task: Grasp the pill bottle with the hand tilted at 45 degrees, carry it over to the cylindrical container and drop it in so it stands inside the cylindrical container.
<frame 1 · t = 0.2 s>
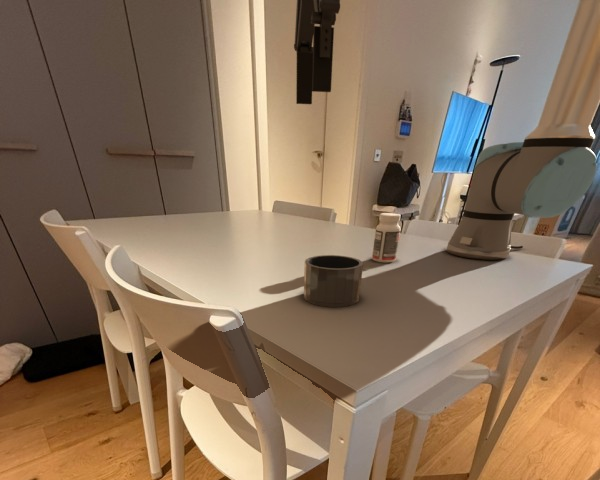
hand: (311, 98, 55), 28 cm above the table, tool pointing down, fingers open, 13 cm apart
cylindrical container: (331, 297, 59), on the table
pill bottle: (383, 261, 82), on the table
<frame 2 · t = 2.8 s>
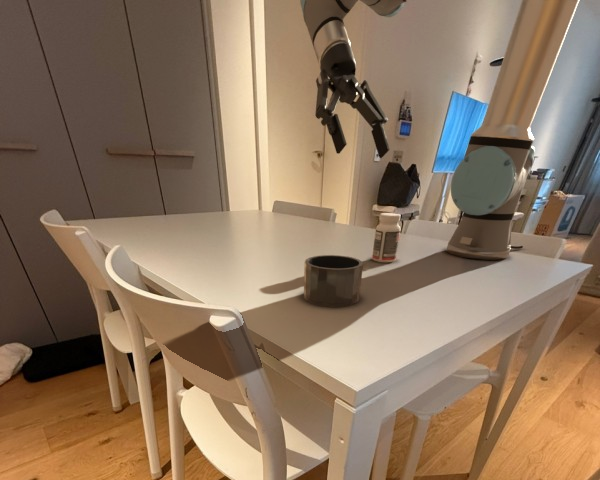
hand: (364, 151, 76), 21 cm above the table, tool tilted 35°, fingers open, 13 cm apart
nothing on the table moved.
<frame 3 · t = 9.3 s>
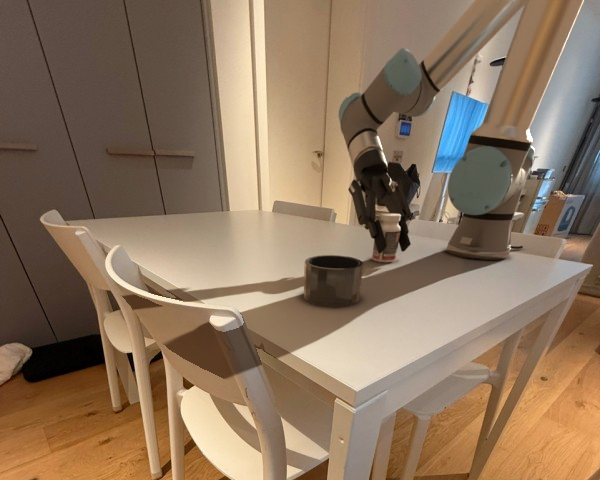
hand: (394, 248, 77), 3 cm above the table, tool tilted 45°, fingers closed on pill bottle, 6 cm apart
pill bottle: (383, 261, 82), on the table, touching gripper
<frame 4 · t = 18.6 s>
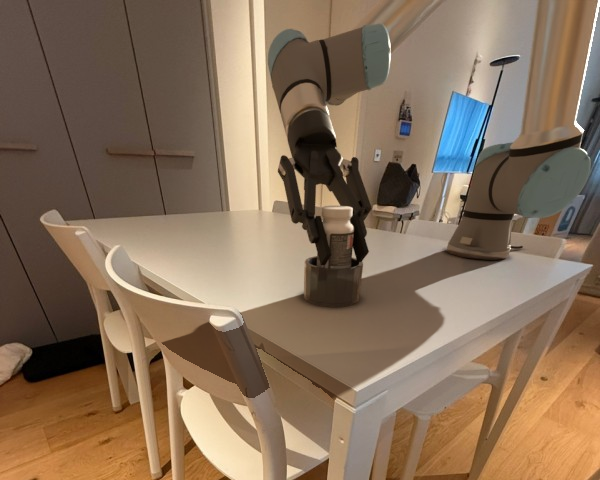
hand: (344, 258, 52), 7 cm above the table, tool tilted 45°, fingers closed on pill bottle, 6 cm apart
pill bottle: (333, 275, 57), point 4 cm above the table, touching gripper
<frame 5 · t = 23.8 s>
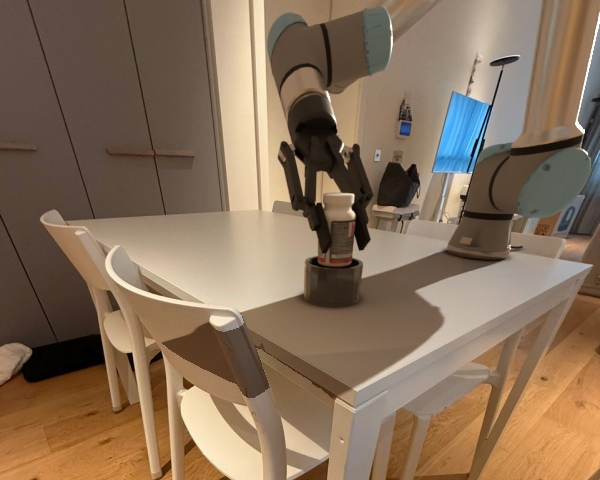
hand: (346, 246, 51), 9 cm above the table, tool tilted 45°, fingers closed on pill bottle, 6 cm apart
pill bottle: (334, 264, 56), point 5 cm above the table, touching gripper
when the fingers open (10 cm above the table, at t = 28.7 s): pill bottle drops 6 cm, resting on cylindrical container.
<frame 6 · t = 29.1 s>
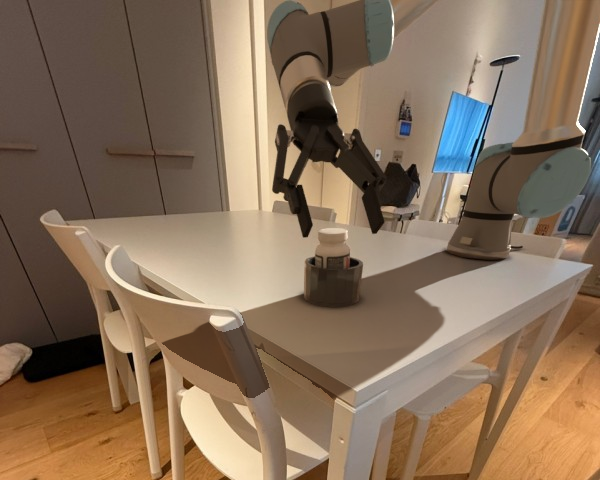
hand: (344, 229, 50), 11 cm above the table, tool tilted 45°, fingers open, 11 cm apart
pill bottle: (331, 294, 59), point 1 cm above the table, touching cylindrical container
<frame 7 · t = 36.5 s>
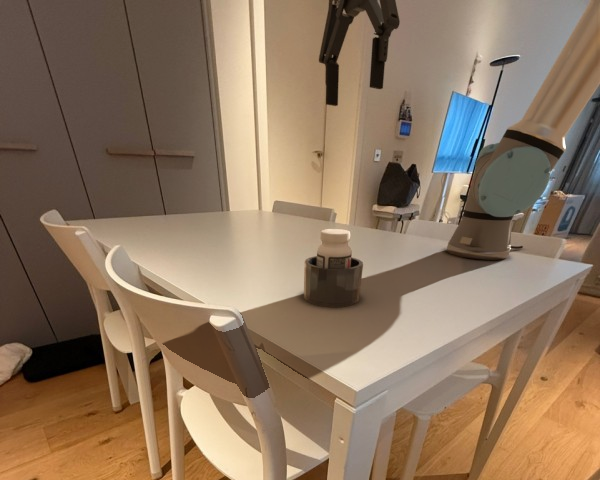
hand: (352, 97, 68), 30 cm above the table, tool pointing down, fingers open, 13 cm apart
nothing on the table moved.
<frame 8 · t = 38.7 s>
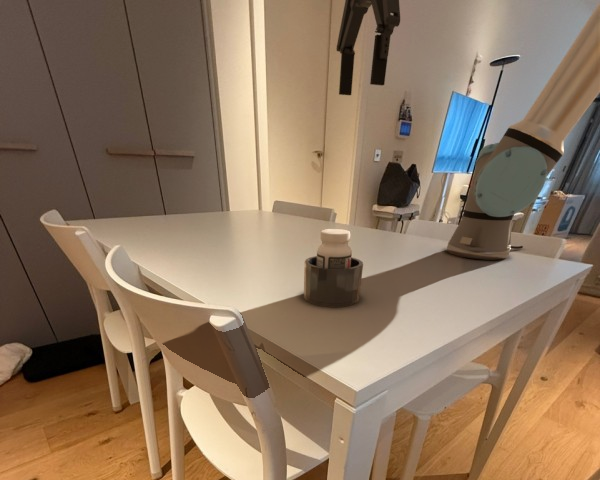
hand: (359, 90, 70), 32 cm above the table, tool pointing down, fingers open, 13 cm apart
nothing on the table moved.
at the end: pill bottle 0.1 cm off-centre in the cylindrical container, point 0.4 cm above the cylindrical container's base; the gripper is holding nothing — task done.
